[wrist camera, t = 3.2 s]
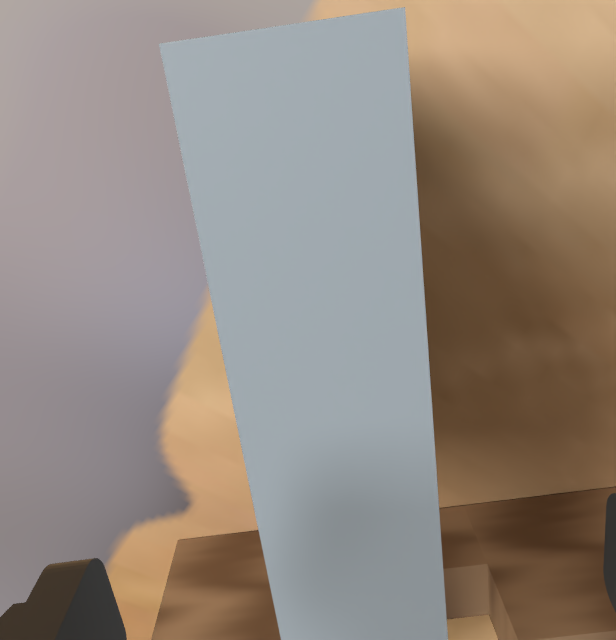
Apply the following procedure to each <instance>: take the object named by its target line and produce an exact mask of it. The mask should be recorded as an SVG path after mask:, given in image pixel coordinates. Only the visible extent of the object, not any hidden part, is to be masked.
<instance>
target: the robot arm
mask: <svg viewBox="0 0 616 640" xmlns="http://www.w3.org/2000/svg"><path fill="white" fill-rule="evenodd" d="M603 573H604V581H605V586H606V590H607V593H608V596H609V599H610V602H611V604H612V606H613V608H614V610H615V612H616V493H612V494H610V495H609V497H608V499H607V504H606V522H605V543H604V565H603ZM0 640H127V639H126V632H125V628H124V624H123V621H122V618H121V615H120V612H119V609H118V606H117V603H116V600H115V597H114V594H113V591H112V588H111V585H110V582H109V579H108V576H107V573H106V570H105V567H104V565H103V563H102V562H101V560H99V559H98V558H94V559H86V560H79V561H70V562H64V563H63V562H62V563H55V564H50V565H48V566H47V567H46V568H45V569H44V570H43V572H42V573H41V575H40V577H39V579H38V581H37V582H36V585H35V586H34V588H33V590H32V592H31V594H30V596H29V597H28V599H27V601H26V602H25V603H17V604H13V605H12V606H11V607H10V608H9V609H8V610H7V611H6V612H5V613H4V614H3V615H2V616H1V617H0Z"/></svg>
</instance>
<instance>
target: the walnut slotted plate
mask: <svg viewBox="0 0 616 640" xmlns="http://www.w3.org/2000/svg"><path fill="white" fill-rule="evenodd" d="M612 493H616V487H612V488H604V489H595V490H587V491H579V492H571V493H562V494H554V495H546V496H538V497H530V498H521V499H513V500H505V501H497V502H488V503H480V504H472V505H464V506H456V507H447V508H439V515H440V529H441V544H442V559H443V573H444V588H445V603H446V617H447V619H454V618H462V617H471V616H479V615H488V614H489V616H490V618H491V621H492V624H493V627H494V629H495V632H496V635H497V637H498V640H616V612H615V610H614V608H613V606H612V604H611V602H610V599H609V596H608V593H607V590H606V586H605V581H604V573H603V565H604V543H605V522H606V504H607V499H608V497H609V495H610V494H612ZM151 640H281V637H280V632H279V627H278V623H277V618H276V613H275V608H274V603H273V598H272V593H271V588H270V584H269V579H268V574H267V569H266V564H265V559H264V554H263V549H262V544H261V540H260V535H259V530H258V531H250V532H242V533H234V534H225V535H217V536H209V537H201V538H192V539H184V540H178V542H177V546H176V549H175V553H174V557H173V560H172V564H171V568H170V572H169V575H168V579H167V583H166V587H165V590H164V594H163V598H162V602H161V605H160V609H159V613H158V617H157V620H156V624H155V628H154V632H153V635H152V639H151Z"/></svg>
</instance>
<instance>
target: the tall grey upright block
mask: <svg viewBox="0 0 616 640" xmlns="http://www.w3.org/2000/svg"><path fill="white" fill-rule="evenodd" d="M159 47H160V51H161V56H162V61H163V66H164V71H165V76H166V81H167V85H168V90H169V95H170V100H171V105H172V110H173V115H174V120H175V124H176V129H177V134H178V139H179V144H180V149H181V154H182V159H183V163H184V169H185V174H186V178H187V183H188V188H189V193H190V198H191V203H192V208H193V213H194V217H195V222H196V227H197V232H198V237H199V242H200V247H201V252H202V256H203V261H204V266H205V271H206V276H207V281H208V286H209V291H210V296H211V300H212V305H213V310H214V315H215V320H216V325H217V330H218V335H219V339H220V344H221V349H222V354H223V359H224V364H225V369H226V374H227V379H228V383H229V388H230V393H231V398H232V403H233V408H234V413H235V418H236V422H237V427H238V432H239V437H240V442H241V447H242V452H243V457H244V462H245V466H246V471H247V476H248V481H249V486H250V491H251V496H252V501H253V505H254V510H255V515H256V520H257V525H258V530H259V535H260V540H261V544H262V549H263V554H264V559H265V564H266V569H267V574H268V579H269V584H270V588H271V593H272V598H273V603H274V608H275V613H276V618H277V623H278V627H279V632H280V637H281V640H448V632H447V617H446V603H445V588H444V573H443V559H442V544H441V529H440V515H439V500H438V485H437V470H436V456H435V441H434V426H433V412H432V397H431V382H430V368H429V353H428V338H427V324H426V309H425V294H424V280H423V265H422V250H421V236H420V221H419V206H418V192H417V177H416V162H415V148H414V133H413V118H412V104H411V89H410V74H409V59H408V45H407V30H406V15H405V7H404V8H397V9H390V10H383V11H377V12H370V13H363V14H356V15H350V16H343V17H336V18H330V19H323V20H316V21H309V22H303V23H296V24H289V25H283V26H276V27H269V28H263V29H256V30H249V31H242V32H235V33H229V34H222V35H216V36H209V37H202V38H195V39H189V40H182V41H175V42H169V43H161V44H159Z"/></svg>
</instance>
